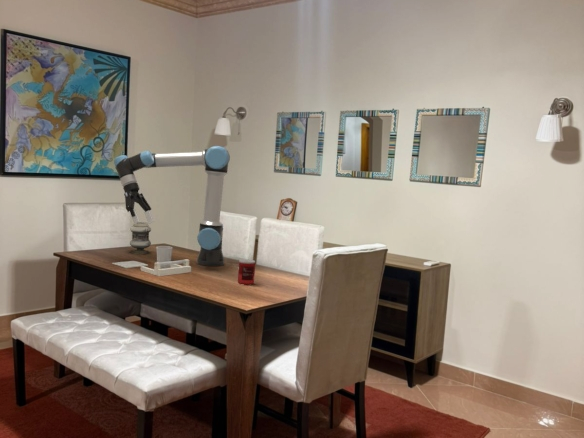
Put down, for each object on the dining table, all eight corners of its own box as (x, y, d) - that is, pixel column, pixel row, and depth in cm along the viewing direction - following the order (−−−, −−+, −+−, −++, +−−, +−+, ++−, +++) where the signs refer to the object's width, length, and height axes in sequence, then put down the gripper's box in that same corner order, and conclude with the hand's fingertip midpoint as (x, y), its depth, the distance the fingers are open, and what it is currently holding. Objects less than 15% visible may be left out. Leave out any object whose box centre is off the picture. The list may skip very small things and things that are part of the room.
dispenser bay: (140, 270, 269) (140, 258, 269) (172, 266, 284) (172, 255, 284) (158, 276, 259) (159, 264, 259) (191, 272, 274) (191, 260, 273)
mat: (134, 261, 291) (134, 260, 291) (148, 265, 283) (148, 264, 283) (112, 263, 281) (112, 262, 281) (126, 268, 273) (126, 267, 273)
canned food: (245, 280, 262) (246, 258, 261) (257, 283, 257) (258, 261, 256) (234, 282, 256) (235, 260, 255) (246, 286, 251) (247, 262, 250)
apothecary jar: (129, 250, 323) (130, 221, 321) (150, 251, 327) (151, 221, 325) (129, 254, 312) (130, 223, 310) (151, 254, 315) (152, 224, 313)
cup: (167, 272, 268) (168, 249, 267) (152, 271, 270) (153, 247, 269) (174, 270, 276) (175, 246, 275) (159, 268, 278) (160, 245, 276)
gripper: (137, 189, 291) (150, 225, 288) (109, 185, 267) (124, 225, 264) (148, 183, 289) (162, 220, 286) (122, 179, 265) (136, 219, 262)
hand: (144, 222), depth 275 cm, fingers open, 13 cm apart
